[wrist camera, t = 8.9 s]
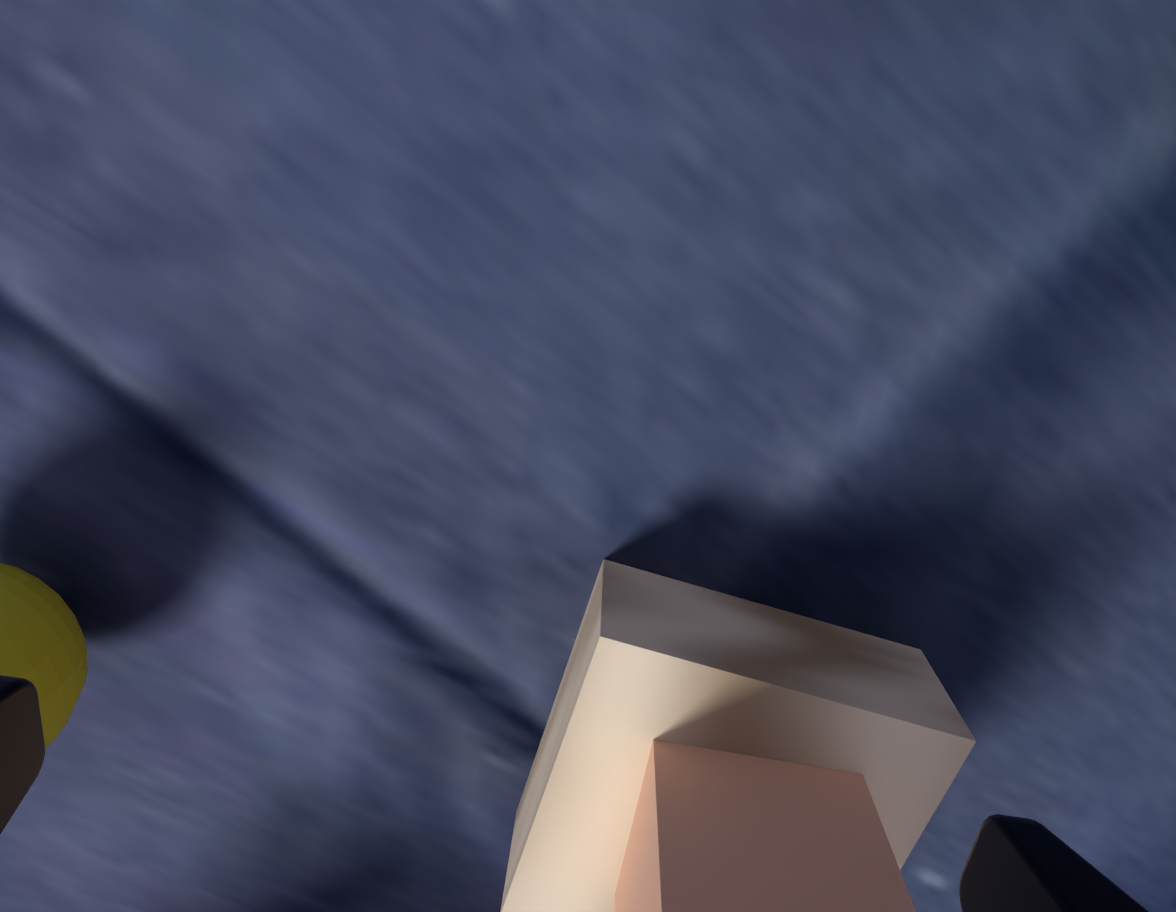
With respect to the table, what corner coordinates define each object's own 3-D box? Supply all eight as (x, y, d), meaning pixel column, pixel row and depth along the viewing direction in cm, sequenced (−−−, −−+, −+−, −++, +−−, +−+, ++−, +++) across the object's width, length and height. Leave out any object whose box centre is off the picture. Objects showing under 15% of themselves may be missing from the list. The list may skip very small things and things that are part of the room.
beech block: (916, 641, 22) (976, 741, 18) (793, 873, 25) (823, 999, 21) (604, 552, 21) (600, 636, 18) (518, 801, 25) (499, 917, 21)
